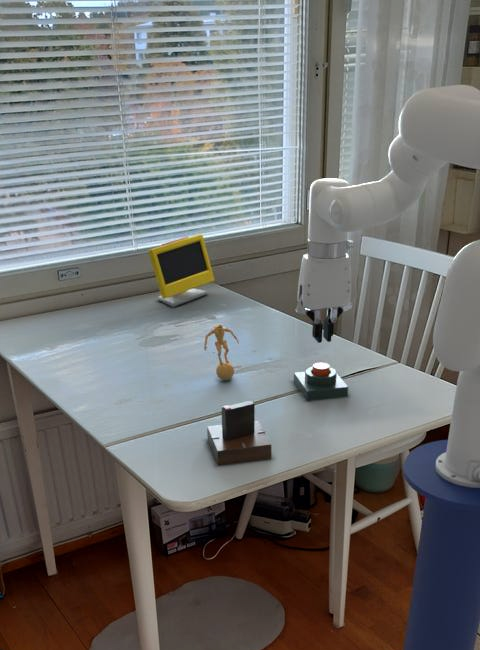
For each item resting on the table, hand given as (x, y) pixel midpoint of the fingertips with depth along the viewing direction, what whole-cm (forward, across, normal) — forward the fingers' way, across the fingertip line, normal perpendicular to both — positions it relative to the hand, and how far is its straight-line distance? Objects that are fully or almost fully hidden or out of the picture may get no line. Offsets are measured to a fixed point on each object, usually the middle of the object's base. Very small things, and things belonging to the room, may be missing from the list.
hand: (322, 339), depth 162 cm
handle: (+8, +23, +22) cm, 33 cm away
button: (+8, 0, 0) cm, 8 cm away
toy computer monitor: (+11, +19, -68) cm, 71 cm away
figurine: (+11, +19, -11) cm, 25 cm away
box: (+11, 0, 0) cm, 11 cm away
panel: (+11, +23, +22) cm, 34 cm away
